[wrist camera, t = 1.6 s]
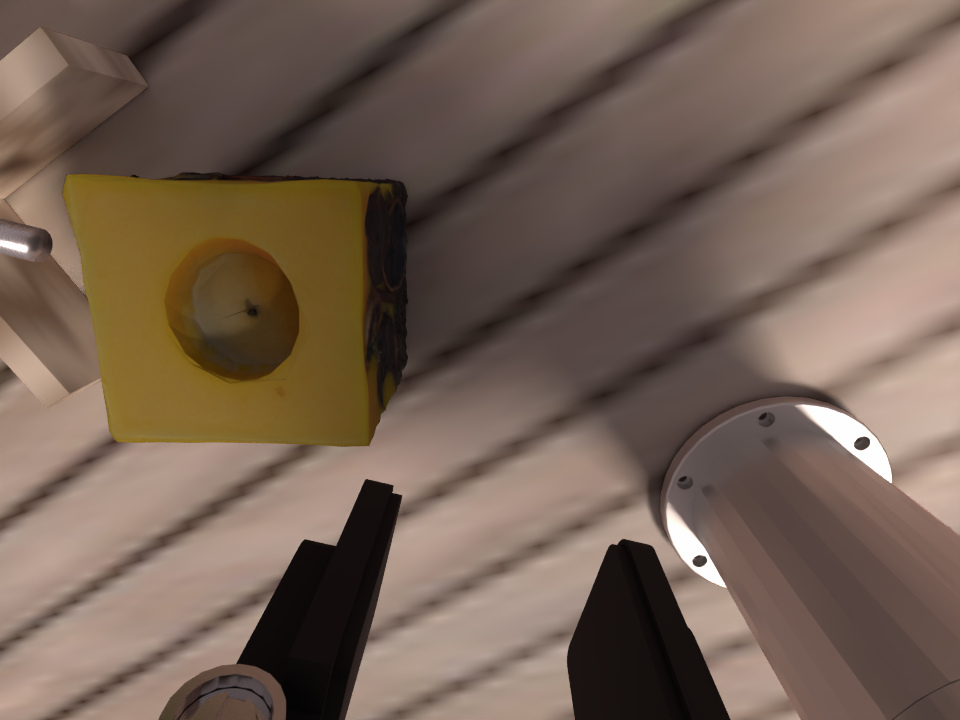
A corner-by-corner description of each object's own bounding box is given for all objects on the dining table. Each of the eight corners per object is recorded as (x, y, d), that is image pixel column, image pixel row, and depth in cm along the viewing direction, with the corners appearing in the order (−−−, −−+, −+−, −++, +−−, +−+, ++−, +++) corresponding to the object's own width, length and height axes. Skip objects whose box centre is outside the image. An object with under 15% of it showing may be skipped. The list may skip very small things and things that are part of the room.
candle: (229, 363, 30) (105, 448, 20) (204, 171, 27) (43, 167, 17) (411, 370, 30) (371, 459, 20) (408, 178, 26) (360, 178, 17)
